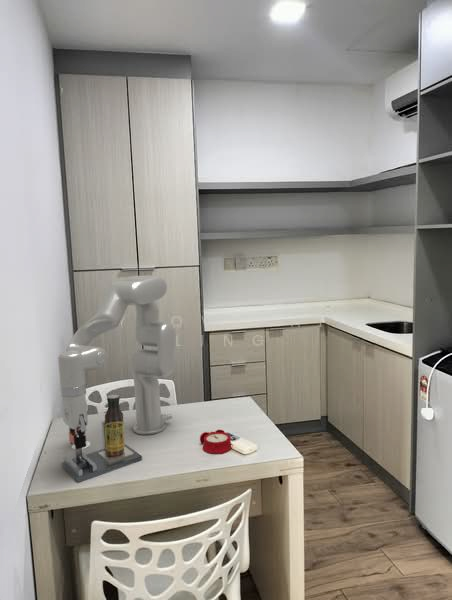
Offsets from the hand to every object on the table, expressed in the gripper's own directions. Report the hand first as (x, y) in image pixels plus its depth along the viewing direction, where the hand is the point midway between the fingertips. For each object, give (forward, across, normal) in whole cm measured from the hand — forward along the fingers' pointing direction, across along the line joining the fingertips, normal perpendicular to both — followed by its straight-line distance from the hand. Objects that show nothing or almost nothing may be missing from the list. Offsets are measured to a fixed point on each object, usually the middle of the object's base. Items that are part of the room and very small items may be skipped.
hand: (78, 444), depth 151 cm
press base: (+9, 0, +8) cm, 12 cm away
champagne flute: (+9, -19, +7) cm, 22 cm away
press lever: (+7, 0, 0) cm, 7 cm away
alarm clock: (+9, +15, +44) cm, 47 cm away
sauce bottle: (+7, 0, +12) cm, 14 cm away
